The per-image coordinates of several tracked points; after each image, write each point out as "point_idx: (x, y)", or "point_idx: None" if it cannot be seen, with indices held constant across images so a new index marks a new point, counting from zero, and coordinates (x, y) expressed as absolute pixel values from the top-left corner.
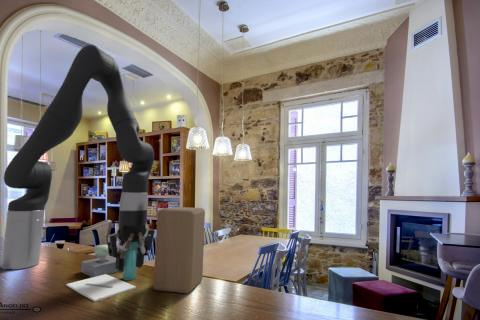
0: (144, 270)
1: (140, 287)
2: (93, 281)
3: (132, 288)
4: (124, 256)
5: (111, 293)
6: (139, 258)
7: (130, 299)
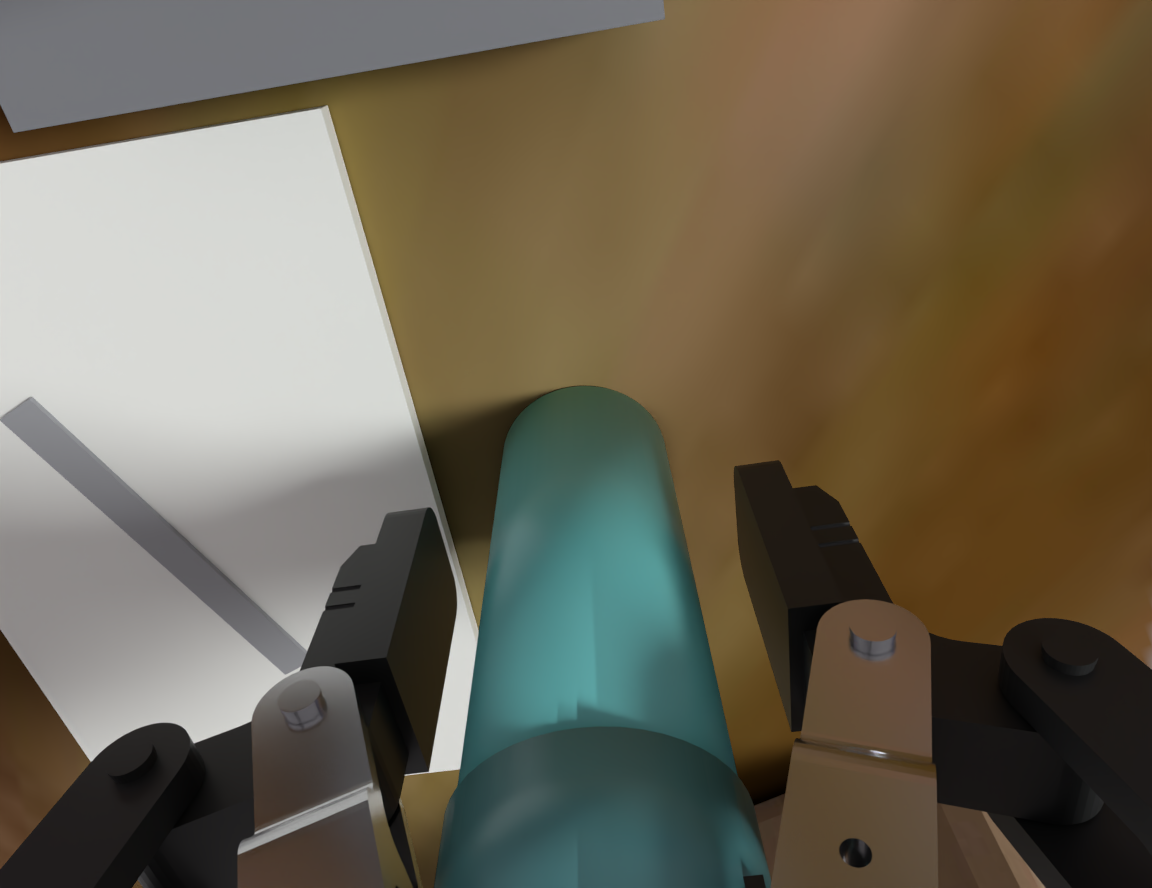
0: (942, 275)
1: None
2: (109, 357)
3: None
4: (473, 675)
5: None
6: (769, 643)
7: None
